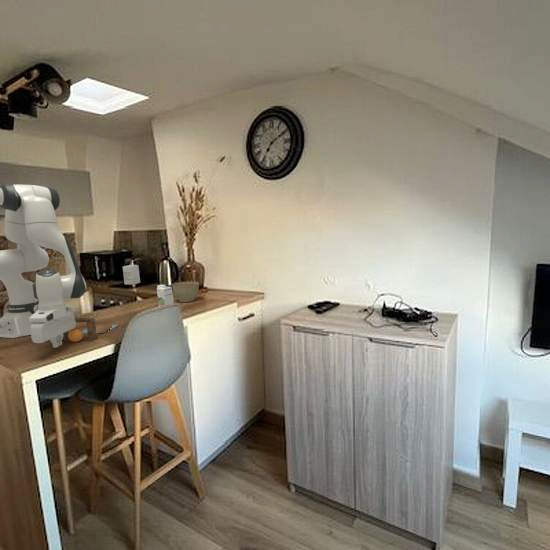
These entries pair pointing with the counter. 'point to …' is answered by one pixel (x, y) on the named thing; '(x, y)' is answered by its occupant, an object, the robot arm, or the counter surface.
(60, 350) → the counter surface
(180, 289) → the planter bowl
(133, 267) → the supplement box
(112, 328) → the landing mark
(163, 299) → the syrup box
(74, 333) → the ball
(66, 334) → the bridge
